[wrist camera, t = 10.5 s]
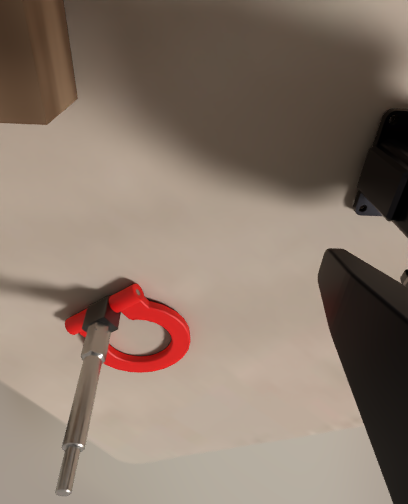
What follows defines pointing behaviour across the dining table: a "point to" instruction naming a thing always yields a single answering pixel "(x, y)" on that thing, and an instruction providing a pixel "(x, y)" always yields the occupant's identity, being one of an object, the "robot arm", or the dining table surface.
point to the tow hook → (112, 361)
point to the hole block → (34, 61)
